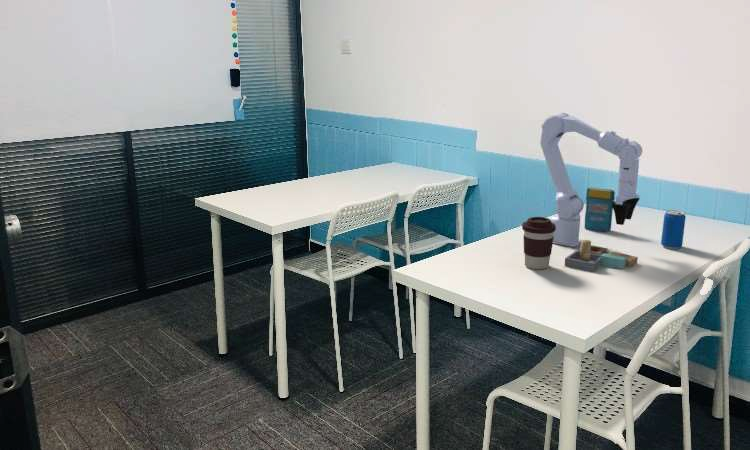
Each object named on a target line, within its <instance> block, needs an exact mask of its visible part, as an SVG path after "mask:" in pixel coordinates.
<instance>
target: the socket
mask: <svg viewBox="0 0 750 450" xmlns="http://www.w3.org/2000/svg"><path fill="white" fill-rule="evenodd" d="M608 250H609V248H608V247H604V246H603V247H602V246H596V245H592V244H591V250H590V253H592V254H597V255H602V254H603V253H606V254H608ZM577 251H580V248H579V249H578V250H577Z"/></svg>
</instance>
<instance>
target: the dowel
mask: <svg viewBox="0 0 750 450" xmlns="http://www.w3.org/2000/svg"><path fill="white" fill-rule="evenodd" d="M580 240H581V243H580V246H579V247H580V248H579V249H580V260H581V261H586V262H590V250H591V245H592V240H590V239H580Z"/></svg>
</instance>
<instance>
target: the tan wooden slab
mask: <svg viewBox="0 0 750 450" xmlns="http://www.w3.org/2000/svg"><path fill="white" fill-rule="evenodd" d="M608 254H611V255H617V256H622V257H627V258H626V267H625V268H631V267H633V266H635V265H637V264H638V259H639V256H634V255H630V254H627V253H622V252H618V251H611V252H610V253H609V252H608Z"/></svg>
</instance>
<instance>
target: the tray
mask: <svg viewBox="0 0 750 450" xmlns="http://www.w3.org/2000/svg"><path fill="white" fill-rule="evenodd" d="M600 256H601V255H597V254H592V253H590V262H586V261H581V260H580V251H578V250H575V251H573V252H571V254H569V255H567V256H566V257H565V258H564V267H570V268H574V269H579V270H584V271H587V272H588V271H590V272H595V271H596V270H597V269H599V267H601V266H602V265H601V262H602V257H600Z"/></svg>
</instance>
